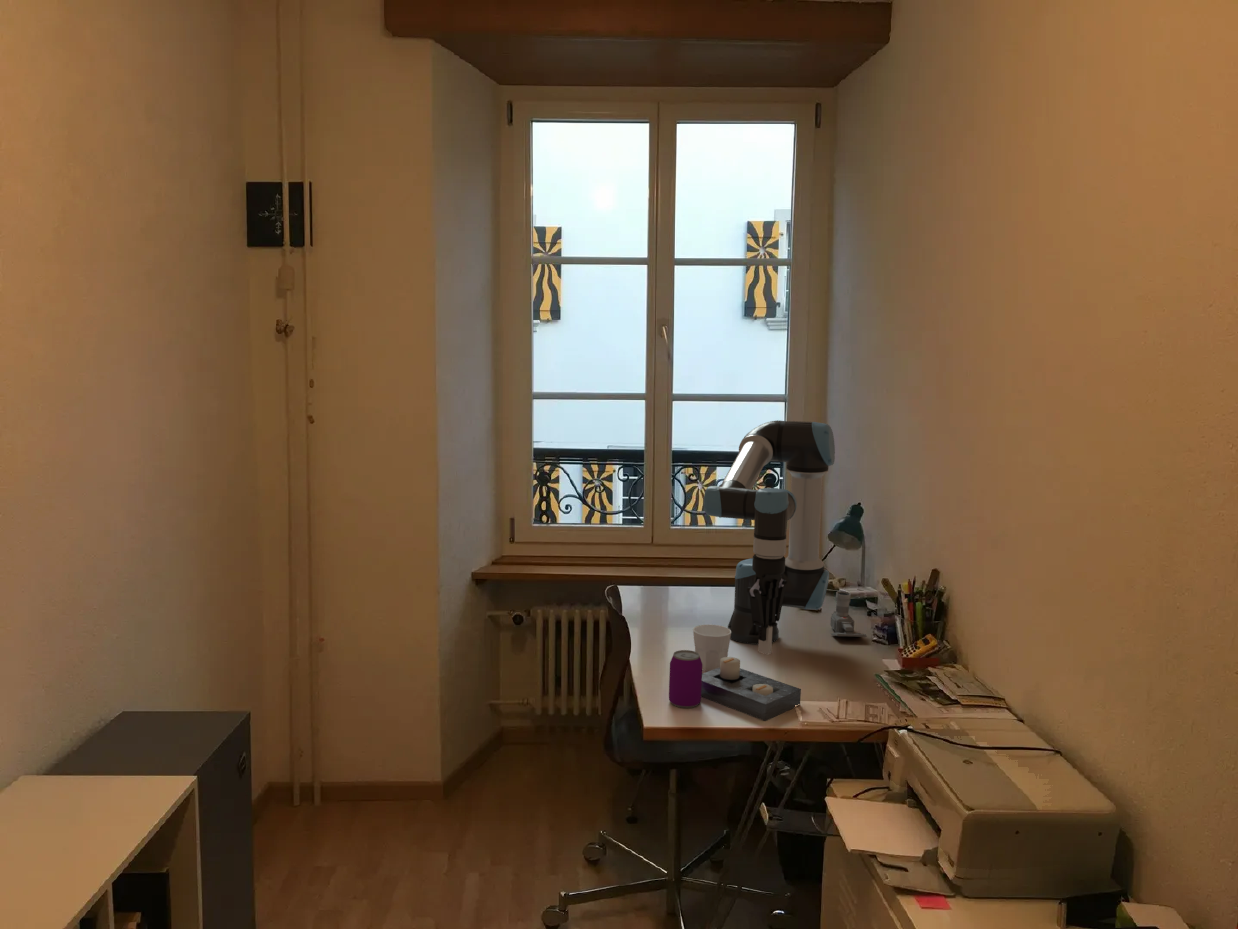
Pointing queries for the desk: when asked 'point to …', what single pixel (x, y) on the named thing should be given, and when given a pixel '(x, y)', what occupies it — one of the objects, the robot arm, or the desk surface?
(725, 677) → the knob
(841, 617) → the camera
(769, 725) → the desk surface
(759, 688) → the knob
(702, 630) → the cup
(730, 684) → the mount plate
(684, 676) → the beverage can
